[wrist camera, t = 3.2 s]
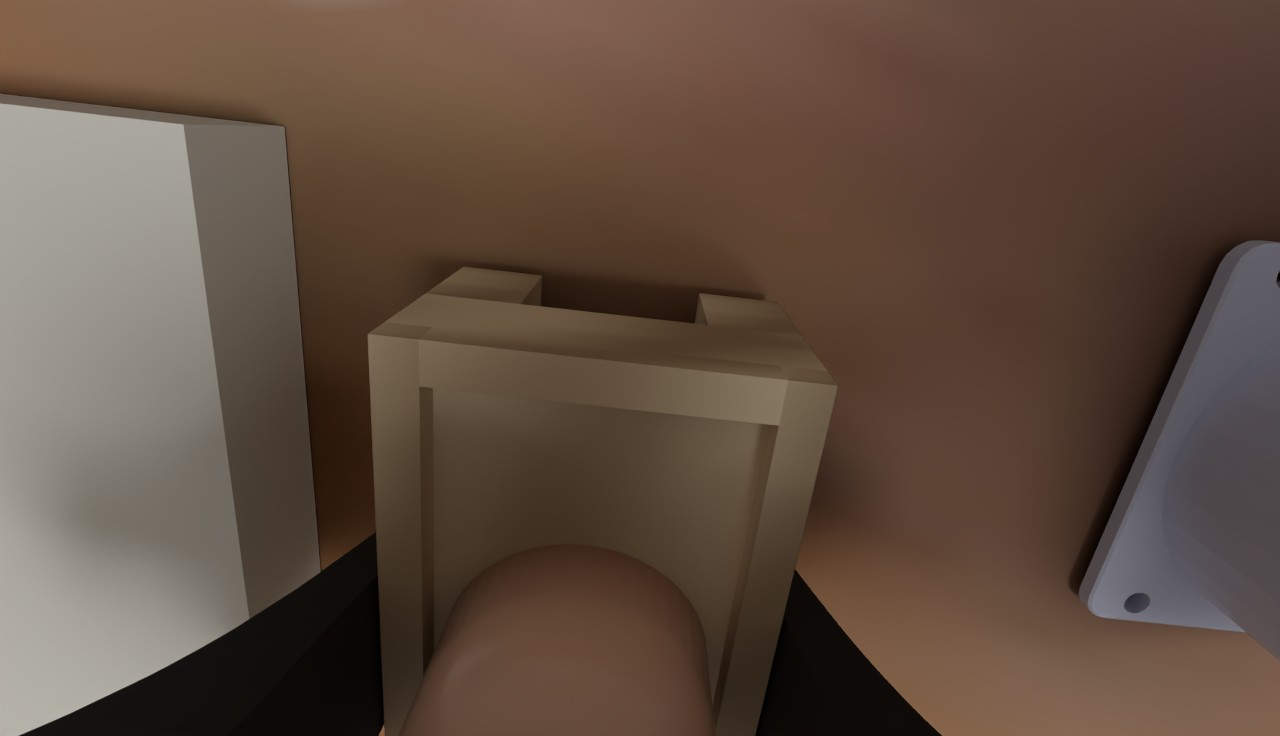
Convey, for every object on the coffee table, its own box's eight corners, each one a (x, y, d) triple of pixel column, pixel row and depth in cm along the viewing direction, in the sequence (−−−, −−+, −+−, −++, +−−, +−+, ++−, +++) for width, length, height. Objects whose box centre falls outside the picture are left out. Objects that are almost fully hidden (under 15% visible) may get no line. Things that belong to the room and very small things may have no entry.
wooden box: (776, 301, 11) (838, 386, 8) (697, 715, 15) (712, 914, 11) (463, 266, 11) (367, 334, 7) (458, 692, 15) (390, 884, 11)
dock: (284, 126, 11) (172, 124, 8) (333, 724, 16) (272, 838, 13) (-251, 64, 11) (-530, 43, 8) (-34, 689, 16) (-168, 796, 13)
